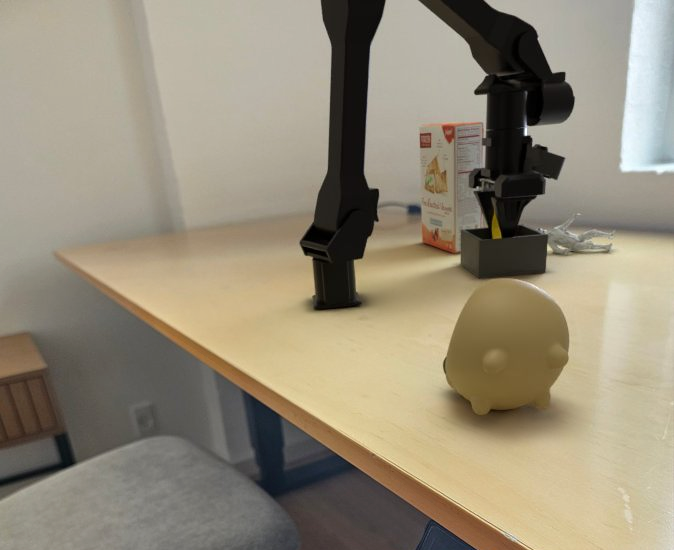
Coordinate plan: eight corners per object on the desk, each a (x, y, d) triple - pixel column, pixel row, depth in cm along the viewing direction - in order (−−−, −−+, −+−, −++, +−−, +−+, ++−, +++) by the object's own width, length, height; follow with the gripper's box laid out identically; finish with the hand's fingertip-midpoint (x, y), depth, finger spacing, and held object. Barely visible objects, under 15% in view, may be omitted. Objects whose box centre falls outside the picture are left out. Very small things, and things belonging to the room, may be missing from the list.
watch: (486, 245, 104) (487, 206, 102) (503, 243, 105) (505, 204, 102) (499, 251, 99) (501, 210, 96) (517, 250, 99) (519, 208, 97)
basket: (545, 272, 98) (548, 234, 96) (478, 278, 98) (479, 240, 96) (521, 258, 108) (523, 224, 106) (460, 264, 108) (460, 229, 106)
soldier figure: (608, 261, 106) (536, 240, 107) (597, 276, 111) (528, 256, 112) (619, 221, 108) (548, 200, 109) (607, 238, 113) (540, 218, 114)
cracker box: (420, 243, 128) (417, 124, 119) (448, 239, 129) (448, 121, 120) (452, 254, 116) (452, 122, 107) (482, 250, 117) (485, 119, 108)
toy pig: (547, 433, 58) (521, 331, 62) (605, 367, 47) (569, 248, 51) (439, 443, 58) (420, 338, 61) (472, 378, 46) (445, 256, 50)
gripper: (588, 124, 86) (577, 246, 93) (538, 124, 103) (532, 228, 110) (504, 131, 86) (500, 253, 93) (468, 130, 103) (466, 233, 110)
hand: (501, 241), depth 101 cm, fingers closed on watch, 6 cm apart
